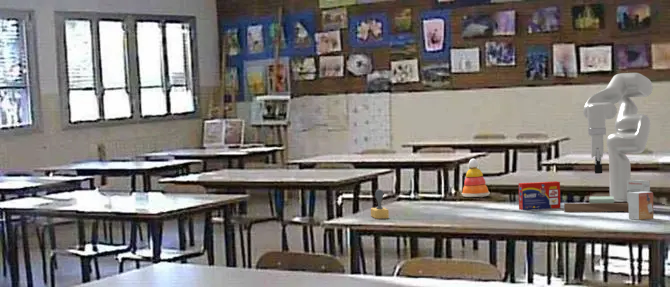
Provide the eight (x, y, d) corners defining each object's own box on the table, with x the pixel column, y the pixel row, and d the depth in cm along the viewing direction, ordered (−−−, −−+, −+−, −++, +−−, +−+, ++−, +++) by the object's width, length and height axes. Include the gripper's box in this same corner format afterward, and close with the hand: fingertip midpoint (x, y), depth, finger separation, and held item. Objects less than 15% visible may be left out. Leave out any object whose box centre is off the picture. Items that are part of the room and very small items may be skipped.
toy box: (556, 207, 435) (555, 181, 434) (560, 208, 431) (559, 181, 430) (518, 209, 430) (518, 183, 430) (522, 210, 427) (522, 183, 426)
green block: (589, 209, 425) (589, 196, 425) (613, 209, 423) (613, 196, 422) (589, 212, 414) (589, 199, 413) (614, 212, 411) (613, 199, 411)
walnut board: (564, 211, 416) (564, 203, 416) (633, 211, 409) (633, 202, 409) (564, 211, 414) (564, 203, 414) (633, 211, 407) (633, 203, 407)
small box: (638, 220, 378) (638, 193, 378) (628, 219, 383) (627, 192, 383) (654, 218, 382) (653, 191, 381) (643, 217, 387) (642, 190, 386)
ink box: (650, 207, 423) (650, 180, 423) (644, 208, 420) (643, 180, 419) (633, 206, 430) (633, 179, 429) (627, 207, 426) (626, 180, 426)
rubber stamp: (388, 218, 411) (388, 189, 411) (375, 218, 410) (374, 190, 410) (383, 215, 421) (383, 188, 421) (370, 216, 420) (369, 188, 420)
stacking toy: (492, 195, 500) (491, 157, 499) (486, 198, 487) (485, 159, 486) (465, 195, 505) (464, 157, 504) (458, 198, 492) (457, 159, 491)
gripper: (588, 131, 439) (589, 171, 440) (588, 133, 425) (589, 175, 426) (605, 130, 437) (607, 171, 439) (606, 132, 423) (607, 175, 424)
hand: (598, 173), depth 432 cm, fingers closed
